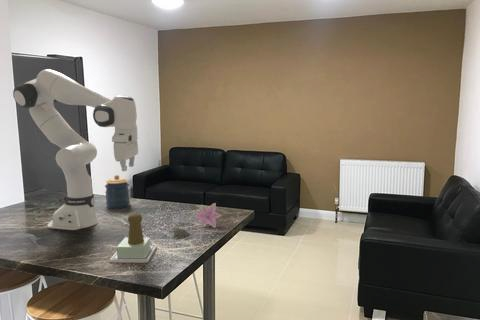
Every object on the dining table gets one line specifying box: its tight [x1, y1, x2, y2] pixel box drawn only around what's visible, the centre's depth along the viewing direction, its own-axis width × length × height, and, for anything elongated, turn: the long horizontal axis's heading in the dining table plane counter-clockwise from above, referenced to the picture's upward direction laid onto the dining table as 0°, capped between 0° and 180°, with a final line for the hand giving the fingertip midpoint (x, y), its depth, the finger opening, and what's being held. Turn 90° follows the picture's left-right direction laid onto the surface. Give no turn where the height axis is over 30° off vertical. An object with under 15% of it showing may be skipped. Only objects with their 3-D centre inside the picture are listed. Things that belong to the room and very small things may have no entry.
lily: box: [192, 202, 222, 228], centre depth 186 cm, size 12×12×10 cm
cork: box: [127, 213, 145, 245], centre depth 150 cm, size 6×6×11 cm
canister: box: [104, 174, 131, 210], centre depth 217 cm, size 13×13×18 cm
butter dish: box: [109, 236, 158, 264], centre depth 151 cm, size 14×14×5 cm
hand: (128, 168), depth 162 cm, fingers open, 8 cm apart
